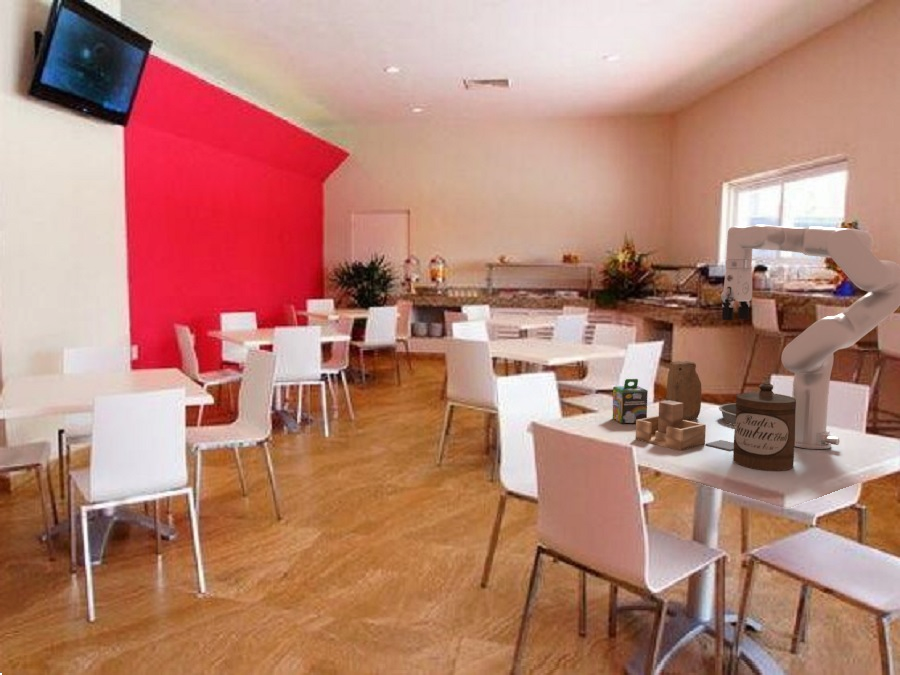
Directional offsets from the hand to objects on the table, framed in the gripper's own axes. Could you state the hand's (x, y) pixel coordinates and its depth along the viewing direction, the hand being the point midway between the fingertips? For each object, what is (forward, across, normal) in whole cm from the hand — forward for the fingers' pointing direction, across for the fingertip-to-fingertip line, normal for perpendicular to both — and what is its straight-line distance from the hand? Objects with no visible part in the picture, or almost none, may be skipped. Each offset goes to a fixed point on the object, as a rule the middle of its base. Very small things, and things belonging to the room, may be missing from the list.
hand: (735, 319), depth 219 cm
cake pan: (+36, +18, 0) cm, 40 cm away
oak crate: (+36, -30, +2) cm, 47 cm away
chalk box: (+36, -16, +27) cm, 48 cm away
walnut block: (+33, -30, +2) cm, 45 cm away
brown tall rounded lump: (+36, +2, +19) cm, 41 cm away
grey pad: (+36, -21, -10) cm, 43 cm away
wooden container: (+36, -30, -26) cm, 53 cm away
